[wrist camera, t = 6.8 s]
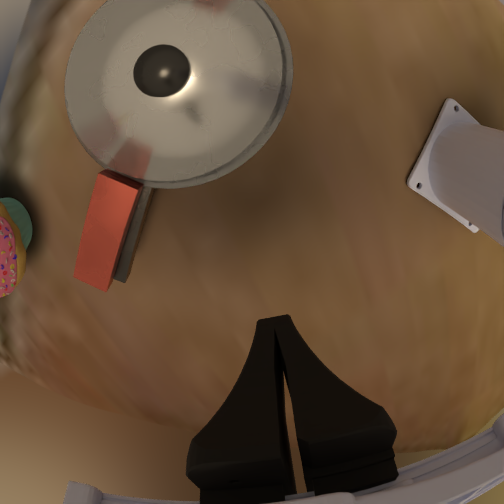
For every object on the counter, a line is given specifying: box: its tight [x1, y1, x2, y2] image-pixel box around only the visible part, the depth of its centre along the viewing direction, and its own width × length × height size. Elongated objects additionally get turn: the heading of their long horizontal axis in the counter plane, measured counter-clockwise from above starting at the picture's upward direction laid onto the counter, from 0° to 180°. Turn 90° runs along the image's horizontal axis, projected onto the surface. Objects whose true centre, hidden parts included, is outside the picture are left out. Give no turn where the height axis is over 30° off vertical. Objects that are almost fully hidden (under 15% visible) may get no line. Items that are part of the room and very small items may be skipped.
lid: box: [65, 0, 282, 292], centre depth 13 cm, size 23×11×2 cm, turn 153°
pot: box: [65, 0, 293, 283], centre depth 16 cm, size 13×23×4 cm, turn 156°
